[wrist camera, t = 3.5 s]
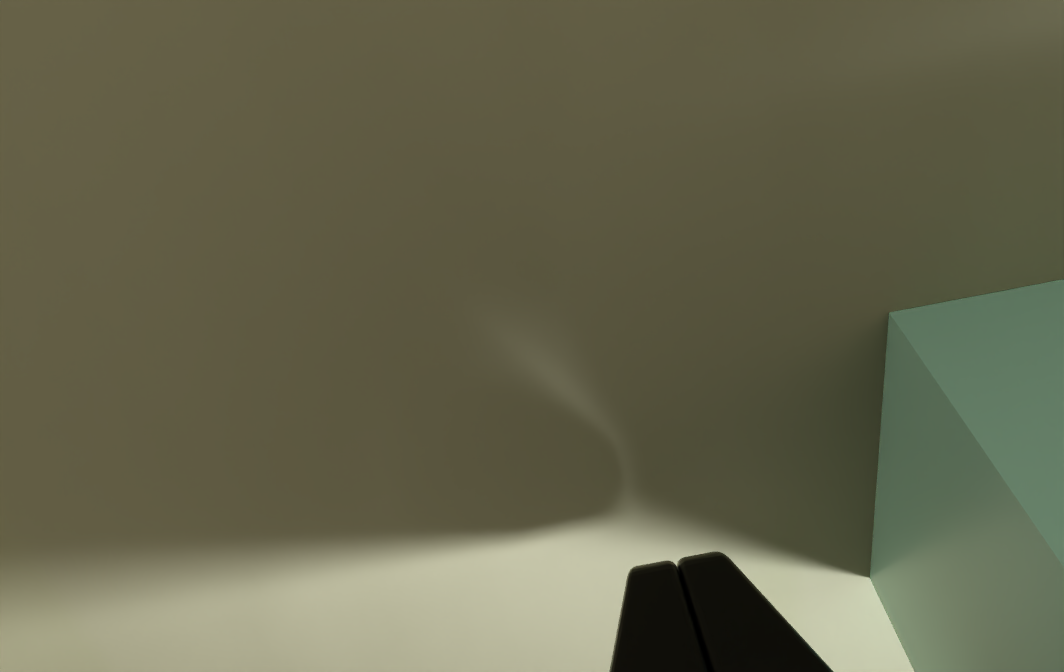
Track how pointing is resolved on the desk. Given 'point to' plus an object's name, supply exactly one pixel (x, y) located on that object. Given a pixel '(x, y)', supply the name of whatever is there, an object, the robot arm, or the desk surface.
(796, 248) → the desk surface
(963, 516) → the green block
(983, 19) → the desk surface
